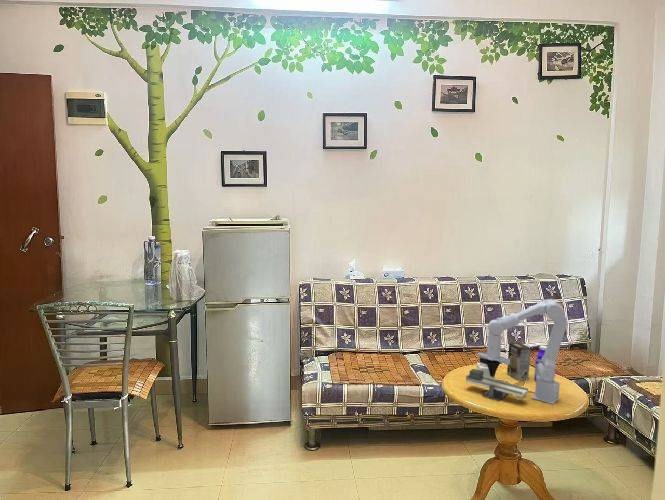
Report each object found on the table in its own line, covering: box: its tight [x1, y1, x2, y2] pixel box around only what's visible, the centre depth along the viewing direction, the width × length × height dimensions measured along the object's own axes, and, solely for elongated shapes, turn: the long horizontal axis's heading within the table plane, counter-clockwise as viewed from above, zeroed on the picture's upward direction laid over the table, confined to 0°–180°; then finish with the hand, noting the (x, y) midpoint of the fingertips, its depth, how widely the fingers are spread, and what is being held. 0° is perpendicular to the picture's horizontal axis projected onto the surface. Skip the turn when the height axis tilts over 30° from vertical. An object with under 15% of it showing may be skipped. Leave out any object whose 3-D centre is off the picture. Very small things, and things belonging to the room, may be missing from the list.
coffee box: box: [506, 341, 532, 381], centre depth 260 cm, size 9×6×16 cm
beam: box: [465, 373, 529, 401], centre depth 237 cm, size 26×7×5 cm, turn 49°
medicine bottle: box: [476, 358, 496, 380], centre depth 256 cm, size 7×7×12 cm
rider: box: [468, 368, 483, 381], centre depth 243 cm, size 5×4×4 cm
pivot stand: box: [481, 380, 510, 402], centre depth 237 cm, size 8×10×6 cm
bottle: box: [533, 345, 547, 381], centre depth 254 cm, size 7×6×17 cm
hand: (492, 376), depth 239 cm, fingers closed
